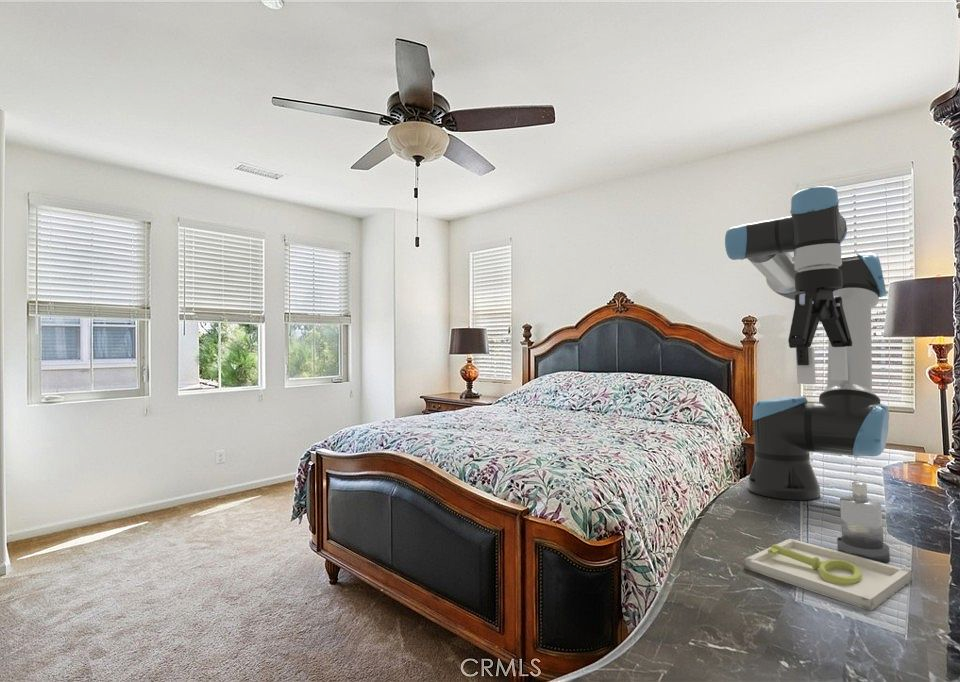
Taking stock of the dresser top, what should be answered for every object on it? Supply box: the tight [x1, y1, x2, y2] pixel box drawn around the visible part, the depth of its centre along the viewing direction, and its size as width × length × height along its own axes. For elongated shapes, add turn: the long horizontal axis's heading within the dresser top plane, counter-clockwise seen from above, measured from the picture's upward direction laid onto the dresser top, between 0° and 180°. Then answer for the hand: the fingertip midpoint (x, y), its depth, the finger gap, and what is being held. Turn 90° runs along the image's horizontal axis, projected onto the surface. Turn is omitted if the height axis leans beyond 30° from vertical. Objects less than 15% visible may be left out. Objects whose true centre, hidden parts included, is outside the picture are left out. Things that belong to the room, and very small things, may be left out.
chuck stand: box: [836, 481, 891, 564], centre depth 85 cm, size 7×7×12 cm
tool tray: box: [743, 538, 913, 612], centre depth 78 cm, size 15×17×2 cm
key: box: [768, 543, 862, 585], centre depth 78 cm, size 7×12×2 cm, turn 54°
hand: (823, 382), depth 95 cm, fingers open, 13 cm apart
